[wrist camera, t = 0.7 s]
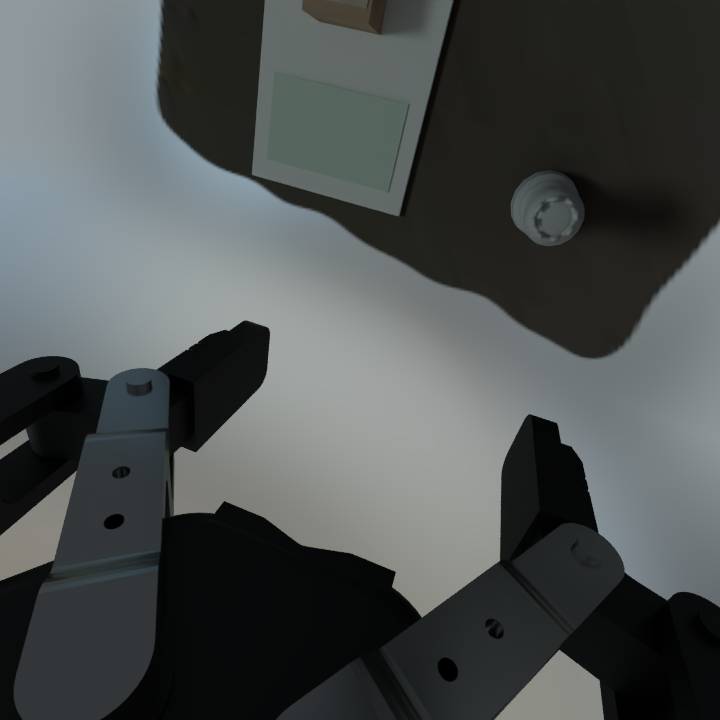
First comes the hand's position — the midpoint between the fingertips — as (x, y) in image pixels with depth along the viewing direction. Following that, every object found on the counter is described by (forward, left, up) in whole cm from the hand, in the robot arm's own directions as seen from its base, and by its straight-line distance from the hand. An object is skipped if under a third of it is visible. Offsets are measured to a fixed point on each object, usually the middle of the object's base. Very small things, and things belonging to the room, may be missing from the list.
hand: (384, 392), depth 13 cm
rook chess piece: (-4, +5, -24) cm, 25 cm away
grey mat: (-11, -12, -24) cm, 29 cm away
